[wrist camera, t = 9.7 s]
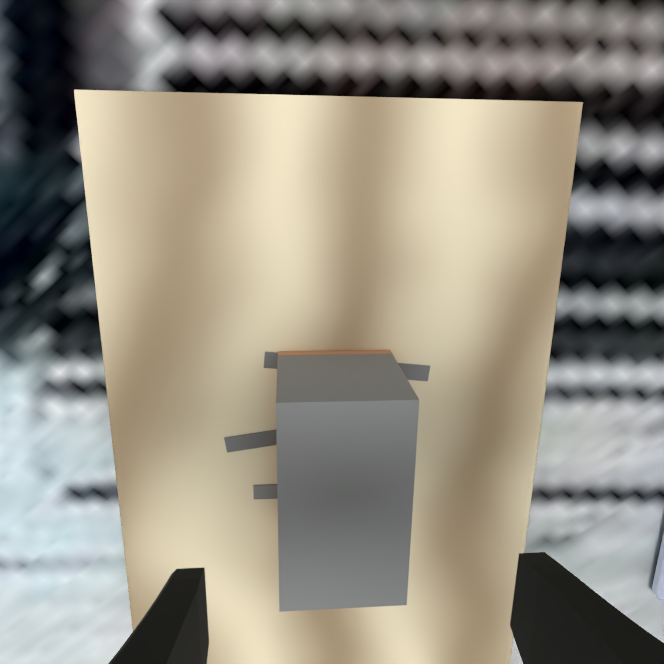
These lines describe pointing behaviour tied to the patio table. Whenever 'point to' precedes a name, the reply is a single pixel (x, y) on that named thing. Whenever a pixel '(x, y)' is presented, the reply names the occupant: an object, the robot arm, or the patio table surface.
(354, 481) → the block
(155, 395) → the board
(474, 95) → the patio table surface
